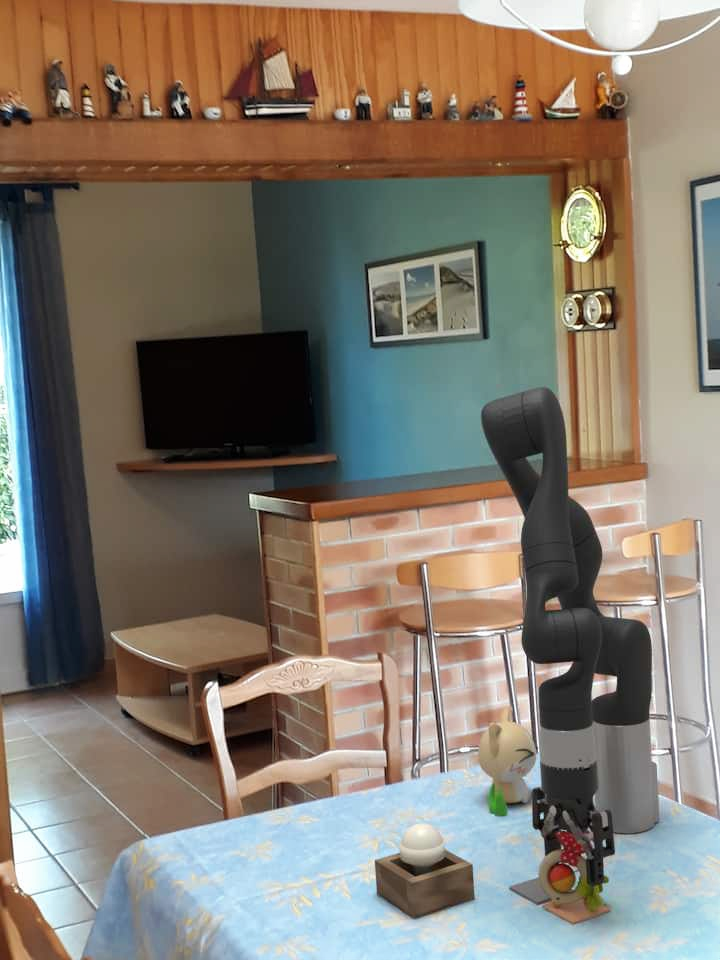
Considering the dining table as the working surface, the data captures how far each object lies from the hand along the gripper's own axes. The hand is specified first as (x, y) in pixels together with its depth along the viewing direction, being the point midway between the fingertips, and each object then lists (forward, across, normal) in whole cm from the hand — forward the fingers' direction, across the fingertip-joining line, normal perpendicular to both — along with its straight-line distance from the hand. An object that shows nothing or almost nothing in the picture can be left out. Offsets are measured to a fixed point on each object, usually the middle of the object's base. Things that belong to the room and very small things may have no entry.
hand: (574, 873), depth 161 cm
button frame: (+5, -16, -14) cm, 22 cm away
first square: (+5, -8, 0) cm, 9 cm away
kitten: (+5, -39, +18) cm, 43 cm away
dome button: (+2, -16, -14) cm, 21 cm away
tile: (+5, 0, 0) cm, 5 cm away
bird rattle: (+5, 0, 0) cm, 5 cm away
